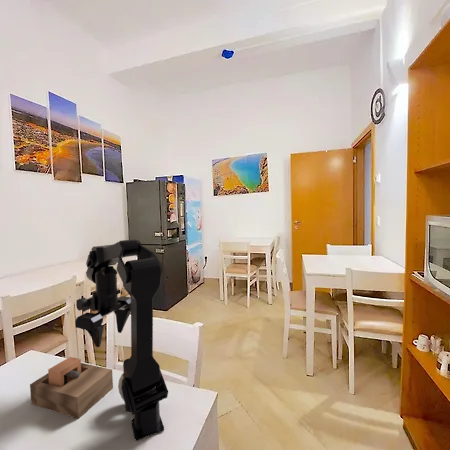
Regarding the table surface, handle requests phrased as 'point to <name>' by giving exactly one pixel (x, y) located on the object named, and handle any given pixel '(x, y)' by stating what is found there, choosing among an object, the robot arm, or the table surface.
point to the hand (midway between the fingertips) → (109, 339)
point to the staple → (63, 371)
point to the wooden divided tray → (73, 391)
